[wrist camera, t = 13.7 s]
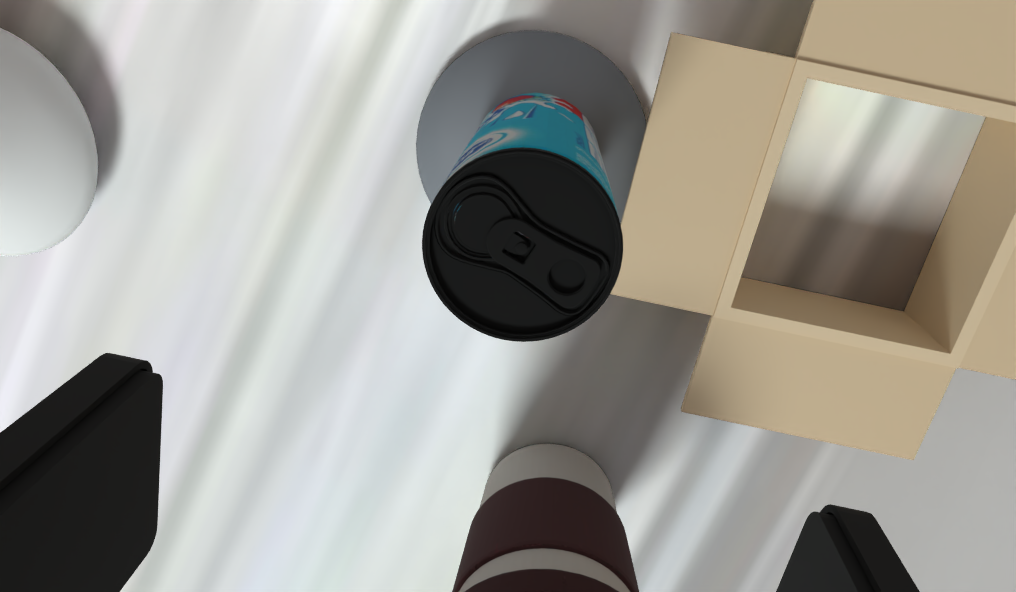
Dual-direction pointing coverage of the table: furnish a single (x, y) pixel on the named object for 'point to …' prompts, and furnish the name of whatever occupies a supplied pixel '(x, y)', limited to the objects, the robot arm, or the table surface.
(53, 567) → the robot arm
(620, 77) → the coaster
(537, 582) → the coffee cup
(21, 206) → the flower in vase
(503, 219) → the beverage can
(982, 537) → the table surface
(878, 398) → the carton
